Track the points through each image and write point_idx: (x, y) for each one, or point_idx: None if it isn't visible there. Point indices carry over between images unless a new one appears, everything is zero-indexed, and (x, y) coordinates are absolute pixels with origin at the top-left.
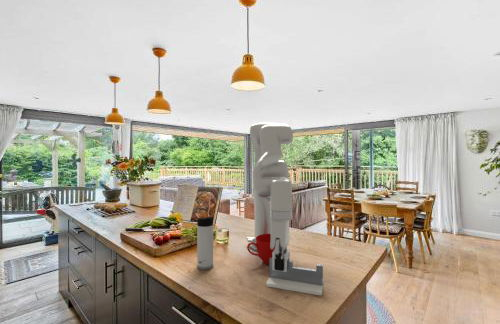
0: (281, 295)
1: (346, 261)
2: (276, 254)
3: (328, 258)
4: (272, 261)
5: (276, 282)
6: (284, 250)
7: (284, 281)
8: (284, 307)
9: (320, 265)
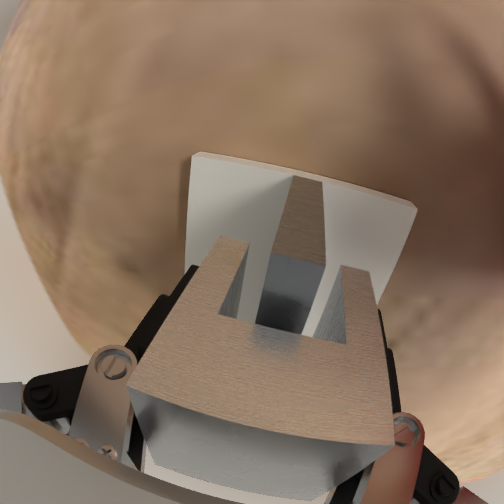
0: (130, 244)
1: (447, 453)
2: (3, 394)
3: (490, 424)
4: (187, 288)
5: (220, 227)
6: (268, 483)
7: (246, 278)
8: (65, 252)
9: None
